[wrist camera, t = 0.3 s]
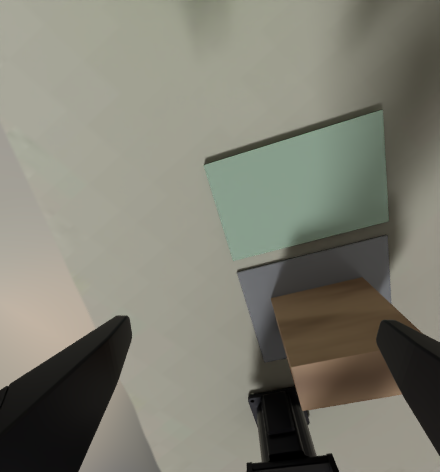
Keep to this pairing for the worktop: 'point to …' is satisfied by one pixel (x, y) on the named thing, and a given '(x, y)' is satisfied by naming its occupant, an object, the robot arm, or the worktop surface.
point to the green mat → (303, 187)
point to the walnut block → (336, 343)
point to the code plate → (310, 283)
